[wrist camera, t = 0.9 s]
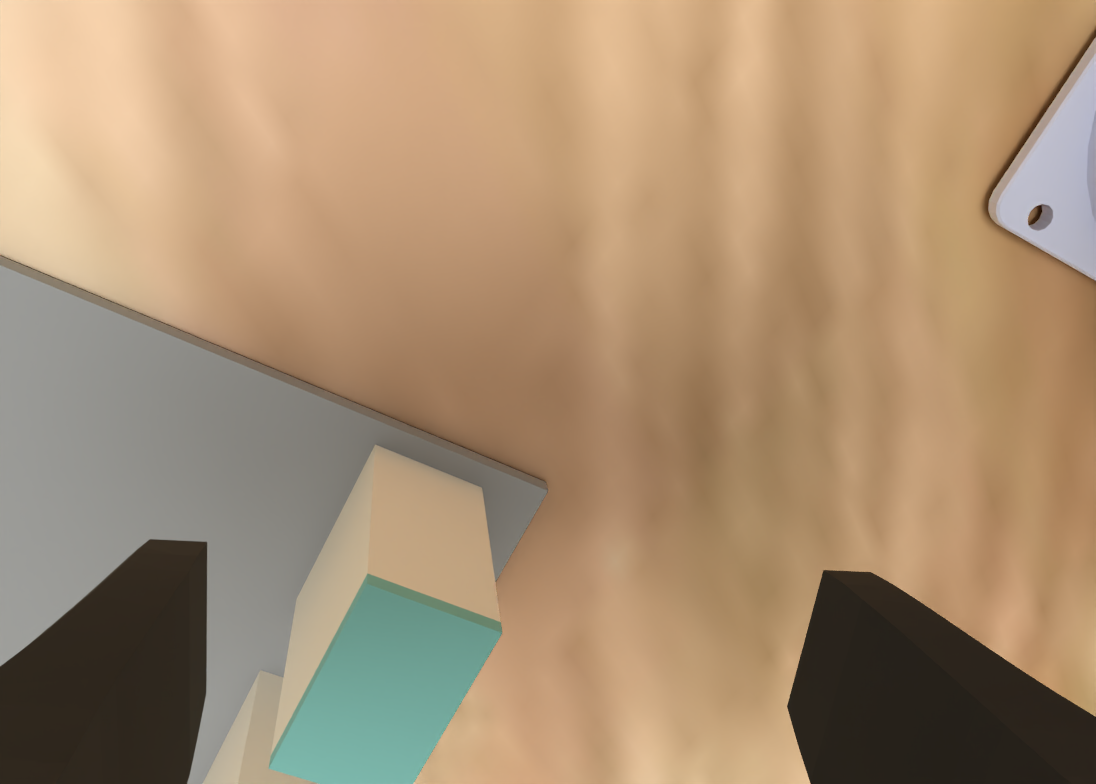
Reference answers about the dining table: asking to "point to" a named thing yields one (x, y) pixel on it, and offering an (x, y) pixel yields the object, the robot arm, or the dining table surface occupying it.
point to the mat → (184, 475)
